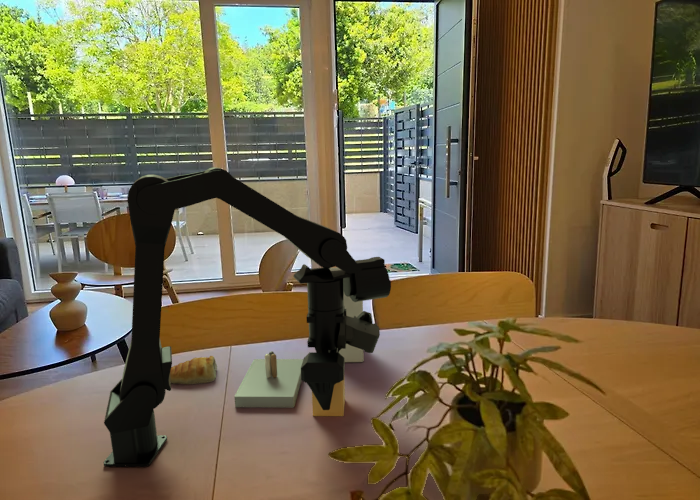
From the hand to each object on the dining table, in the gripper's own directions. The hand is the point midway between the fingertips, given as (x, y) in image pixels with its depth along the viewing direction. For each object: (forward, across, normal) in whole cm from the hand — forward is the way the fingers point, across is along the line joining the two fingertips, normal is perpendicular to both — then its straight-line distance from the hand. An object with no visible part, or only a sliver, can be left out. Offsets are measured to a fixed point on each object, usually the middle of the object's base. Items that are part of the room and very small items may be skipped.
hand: (328, 394), depth 77 cm
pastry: (+3, +10, +26) cm, 29 cm away
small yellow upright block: (+2, 0, 0) cm, 3 cm away
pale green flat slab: (+2, +7, +11) cm, 13 cm away
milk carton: (+3, +20, -2) cm, 20 cm away
